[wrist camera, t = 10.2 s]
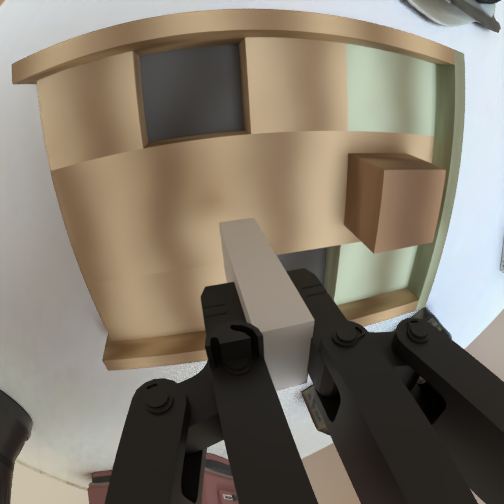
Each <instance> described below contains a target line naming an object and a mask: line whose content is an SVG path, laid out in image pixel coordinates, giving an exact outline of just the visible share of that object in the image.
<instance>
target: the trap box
mask: <svg viewBox="0 0 504 504" xmlns="http://www.w3.org/2000/svg"><path fill="white" fill-rule="evenodd" d="M12 82H13V84H37V88H38V98H39V107H40V115H41V122H42V129H43V135H44V141H45V147H46V152H47V157H48V162H49V167H50V171H51V175H52V180H53V184H54V188H55V192H56V196H57V199H58V203H59V207H60V210H61V214H62V217H63V220H64V224H65V227H66V230H67V233H68V236H69V239H70V242H71V245H72V248H73V251H74V254H75V256H76V259H77V262H78V265H79V267H80V270H81V273H82V275H83V278H84V280H85V283H86V285H87V288H88V290H89V292H90V295H91V297H92V299H93V302H94V304H95V306H96V308H97V311H98V313H99V315H100V317H101V319H102V322H103V324H104V326H105V328H106V330H107V332H108V336H107V341H106V346H105V350H104V355H103V360H102V361H103V362H104V364H105V366H106V367H107V369H108V370H123V369H136V368H147V367H157V366H167V365H176V364H184V363H191V362H199V361H206V360H208V358H207V354H206V350H205V339H206V332H205V325H204V318H203V311H202V304H201V295H202V292H203V290H204V288H205V287H206V286H212V285H218V284H224V283H227V280H226V277H225V269H224V261H223V253H222V245H221V237H220V228H219V222H225V221H232V220H239V219H246V218H253V217H254V219H255V220H256V222H257V224H258V225H259V227H260V229H261V230H262V232H263V234H264V235H265V237H266V239H267V240H268V242H269V244H270V245H271V247H272V249H273V250H274V252H275V254H276V255H277V257H278V259H279V260H280V262H281V264H282V265H283V267H284V269H285V270H286V271H291V270H296V269H301V268H305V269H307V270H308V271H310V272H312V273H313V274H315V275H316V276H317V278H318V279H319V281H320V282H321V283H322V286H324V288H325V289H326V290H327V293H329V295H330V296H331V298H332V299H333V300H334V302H335V303H336V305H337V306H338V308H339V309H340V310H341V312H342V313H343V315H344V316H345V318H346V319H347V320H348V321H354V322H356V323H358V324H360V325H362V326H363V327H364V326H368V325H371V324H375V323H378V322H381V321H385V320H388V319H391V318H394V317H397V316H400V315H403V314H407V313H410V312H413V311H415V310H418V309H421V308H424V307H425V305H426V302H427V300H428V297H429V294H430V291H431V288H432V285H433V282H434V279H435V275H436V272H437V269H438V266H439V262H440V259H441V255H442V251H443V248H444V244H445V240H446V236H447V232H448V228H449V223H450V219H451V214H452V209H453V204H454V199H455V194H456V188H457V182H458V175H459V168H460V160H461V152H462V142H463V130H464V114H465V62H464V54H463V53H461V52H459V51H456V50H454V49H452V48H449V47H447V46H444V45H442V44H439V43H436V42H434V41H431V40H428V39H425V38H423V37H420V36H417V35H414V34H410V33H407V32H404V31H401V30H397V29H394V28H390V27H386V26H382V25H378V24H374V23H370V22H365V21H361V20H356V19H351V18H346V17H340V16H334V15H327V14H320V13H312V12H303V11H291V10H276V9H222V10H206V11H195V12H185V13H177V14H170V15H163V16H157V17H152V18H146V19H141V20H136V21H132V22H127V23H123V24H119V25H115V26H111V27H107V28H104V29H100V30H97V31H93V32H90V33H87V34H84V35H81V36H78V37H75V38H72V39H69V40H66V41H64V42H61V43H58V44H56V45H53V46H51V47H48V48H46V49H44V50H41V51H39V52H37V53H34V54H32V55H30V56H28V57H26V58H24V59H22V60H19V61H17V62H15V63H13V64H12ZM348 153H401V154H410V155H412V156H415V157H417V158H420V159H422V160H424V161H427V162H429V163H432V164H434V165H436V166H439V167H441V168H443V169H445V170H446V174H445V181H444V188H443V194H442V200H441V205H440V211H439V216H438V221H437V225H436V230H435V234H434V239H433V242H432V243H427V244H422V245H417V246H412V247H407V248H402V249H396V250H391V251H386V252H381V253H375V254H373V253H372V252H371V251H370V250H369V249H368V248H367V247H366V246H365V245H364V244H363V243H362V242H361V241H360V240H359V239H358V238H357V237H356V236H355V235H354V234H353V233H352V232H351V231H350V230H349V229H347V228H346V227H345V226H344V217H345V204H346V188H347V169H348Z"/></svg>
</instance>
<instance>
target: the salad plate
mask: <svg viewBox="0 0 504 504" xmlns="http://www.w3.org/2000/svg"><path fill="white" fill-rule="evenodd" d="M406 1H407V2H408V3H409V4H410V5H412V6H413V7H414V8H416V9H417V10H418V11H419V12H421V13H422V14H424V15H425V16H427V17H428V18H429V19H430V20H431V21H432V22H434V23H437V24H441V25H444V26H459V25H463V24H469V23H472V22H478V23H480V24H481V25H483V26H484V27H486V28H488V29H490V30H492V31H494V32H497V33H498V32H499V30H500V29H501V28H500V25H499V23H498V22H497V21H496V20H495V18H494V12H495V3H497V2H499V1H501V0H406Z"/></svg>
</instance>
